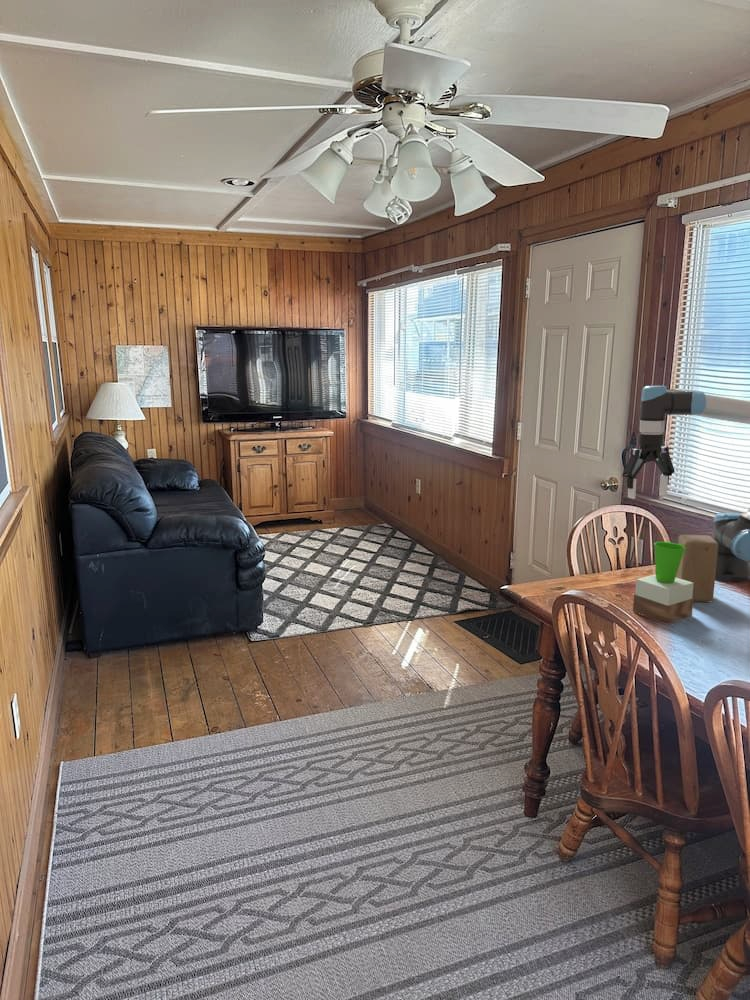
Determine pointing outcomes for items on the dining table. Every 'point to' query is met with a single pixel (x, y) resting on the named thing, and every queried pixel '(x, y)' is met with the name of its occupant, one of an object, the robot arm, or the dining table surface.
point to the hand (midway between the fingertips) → (647, 496)
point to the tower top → (664, 590)
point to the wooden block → (699, 565)
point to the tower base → (663, 609)
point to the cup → (667, 560)
